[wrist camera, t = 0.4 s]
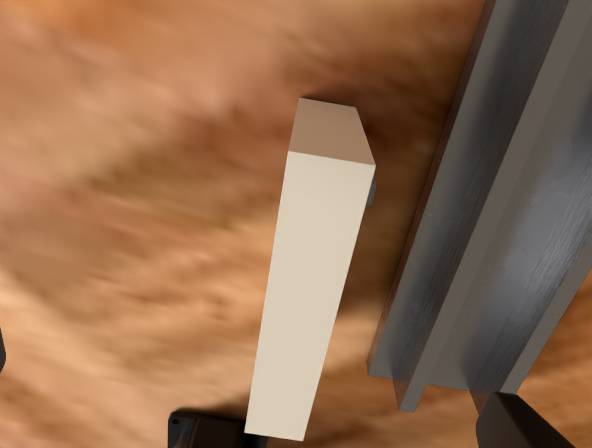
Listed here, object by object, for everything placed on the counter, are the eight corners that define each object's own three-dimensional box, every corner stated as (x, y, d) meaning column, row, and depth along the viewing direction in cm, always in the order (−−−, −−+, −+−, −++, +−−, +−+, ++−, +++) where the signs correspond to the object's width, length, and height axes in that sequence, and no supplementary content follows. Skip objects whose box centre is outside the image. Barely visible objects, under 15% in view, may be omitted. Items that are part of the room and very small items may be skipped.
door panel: (316, 325, 23) (315, 443, 17) (264, 317, 23) (244, 432, 17) (367, 109, 17) (394, 168, 11) (299, 97, 17) (288, 151, 11)
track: (500, 382, 24) (523, 428, 22) (366, 361, 24) (372, 406, 21) (719, -4, 15) (805, -6, 12) (500, -45, 15) (541, -55, 12)
